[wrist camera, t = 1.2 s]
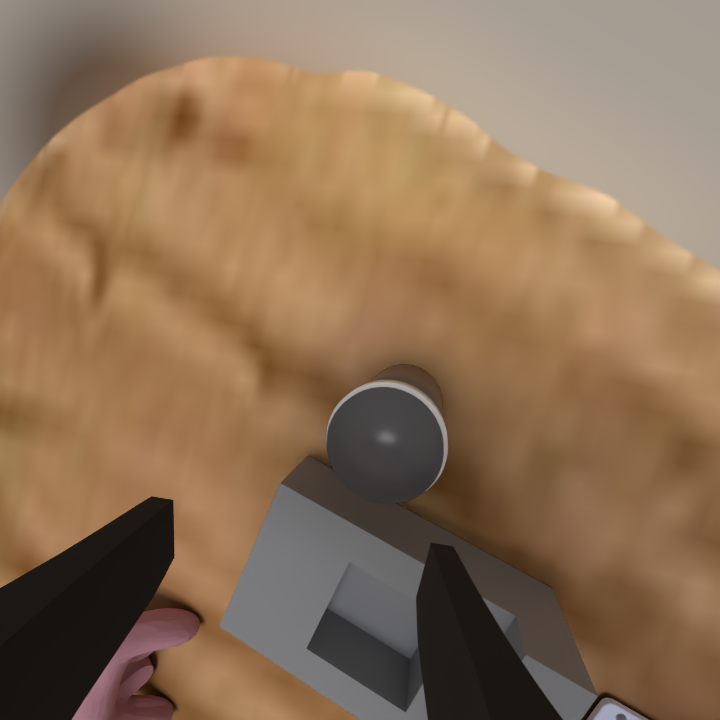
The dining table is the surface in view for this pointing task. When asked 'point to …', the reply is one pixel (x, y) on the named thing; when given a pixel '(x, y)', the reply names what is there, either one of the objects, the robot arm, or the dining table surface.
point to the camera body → (379, 601)
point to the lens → (389, 436)
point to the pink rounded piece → (138, 669)
